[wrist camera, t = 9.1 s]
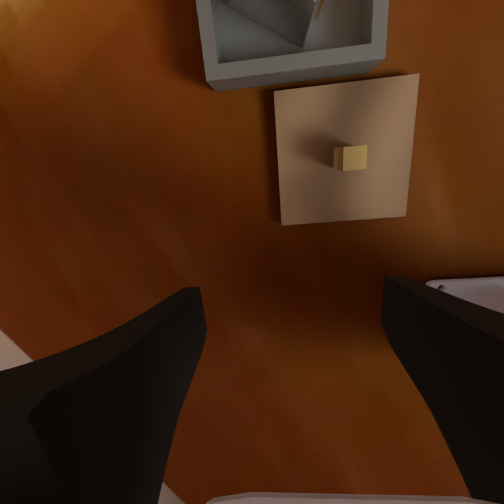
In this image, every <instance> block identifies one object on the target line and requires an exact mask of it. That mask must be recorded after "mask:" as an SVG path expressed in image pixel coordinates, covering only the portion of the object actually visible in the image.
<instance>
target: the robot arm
mask: <svg viewBox="0 0 504 504" xmlns="http://www.w3.org/2000/svg"><path fill="white" fill-rule="evenodd" d="M440 285H442V287H441V288H440V289H437V288H438V287H439V286H440ZM381 324H382V327H383V329H384V331H385V334H386V336H387V338H388V340H389V343H390V345H391V347H392V348H393V350H394V352H395V353H396V355H397V357H398V358H399V360H400V362H401V363H402V365H403V366H404V368H405V370H406V371H407V373H408V374H409V376H410V378H411V379H412V381H413V382H414V384H415V386H416V387H417V389H418V390H419V392H420V394H421V395H422V397H423V398H424V400H425V402H426V404H427V405H428V407H429V409H430V411H431V412H432V414H433V416H434V418H435V420H436V422H437V424H438V426H439V428H440V430H441V432H442V434H443V436H444V439H445V441H446V443H447V445H448V447H449V449H450V451H451V453H452V455H453V458H454V460H455V462H456V464H457V466H458V468H459V470H460V473H461V475H462V477H463V479H464V481H465V484H466V486H467V488H468V490H469V493H470V495H471V497H472V498H467V497H458V496H411V495H363V494H316V493H268V492H249V493H243V494H237V495H230V496H224V497H217V498H213V499H212V500H210V501H209V502H207V503H206V504H504V277H485V278H465V279H446V280H431V281H428V282H427V283H426V284H423V283H421V282H418V281H416V280H413V279H410V278H407V277H403V276H393V277H385V278H384V291H383V304H382V317H381ZM206 333H207V326H206V320H205V315H204V309H203V303H202V298H201V292H200V287H187V288H183V289H181V290H179V291H177V292H176V293H174V294H172V295H171V296H169V297H168V298H166V299H165V300H163V301H161V302H160V303H158V304H157V305H155V306H154V307H152V308H150V309H149V310H147V311H145V312H144V313H142V314H140V315H139V316H137V317H135V318H134V319H132V320H130V321H128V322H127V323H125V324H123V325H121V326H119V327H117V328H115V329H113V330H111V331H109V332H107V333H105V334H103V335H101V336H99V337H97V338H94V339H92V340H90V341H87V342H85V343H82V344H80V345H77V346H75V347H72V348H70V349H67V350H65V351H62V352H60V353H57V354H54V355H51V356H48V357H45V358H42V359H39V360H36V361H33V362H30V363H27V364H24V365H20V366H17V367H14V368H10V369H6V370H3V371H0V504H158V500H159V495H160V490H161V486H162V481H163V477H164V473H165V469H166V464H167V460H168V456H169V452H170V448H171V444H172V440H173V436H174V432H175V429H176V425H177V421H178V417H179V414H180V411H181V408H182V405H183V402H184V399H185V397H186V394H187V391H188V389H189V386H190V383H191V381H192V378H193V375H194V373H195V370H196V367H197V365H198V362H199V359H200V357H201V354H202V351H203V347H204V342H205V338H206Z"/></svg>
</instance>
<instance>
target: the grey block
mask: <svg viewBox="0 0 504 504" xmlns="http://www.w3.org/2000/svg"><path fill="white" fill-rule="evenodd" d="M325 1H326V0H228V2H229V5H230V8H231V9H232V10H234V11H236V12H238V13H240V14H242V15H243V16H245V17H247V18H249V19H251V20H252V21H254V22H256V23H258V24H260V25H261V26H263V27H265V28H267V29H269V30H271V31H272V32H274V33H276V34H278V35H280V36H281V37H283V38H285V39H287V40H289V41H290V42H292V43H294V44H296V45H298V46H300V47H301V48H303V46H304V44H305V42H306V39H307V37H308V35H309V33H310V30H311V28H312V26H313V24H314V22H315V19H316V20H317V19H318V17H319V15H320V12H321V10H322V8H323V6H324V4H325Z"/></svg>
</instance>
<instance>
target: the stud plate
mask: <svg viewBox="0 0 504 504" xmlns="http://www.w3.org/2000/svg"><path fill="white" fill-rule="evenodd" d="M418 84H419V74H411V75H403V76H395V77H387V78H378V79H370V80H362V81H354V82H345V83H337V84H329V85H321V86H313V87H304V88H296V89H288V90H280V91H274V106H275V123H276V140H277V157H278V174H279V191H280V208H281V223H282V225H294V224H308V223H322V222H335V221H349V220H362V219H376V218H389V217H403V216H406V209H407V198H408V188H409V177H410V167H411V157H412V146H413V136H414V125H415V115H416V105H417V94H418Z"/></svg>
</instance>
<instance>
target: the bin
mask: <svg viewBox="0 0 504 504" xmlns="http://www.w3.org/2000/svg"><path fill="white" fill-rule="evenodd" d="M196 6H197V13H198V21H199V29H200V36H201V44H202V52H203V59H204V67H205V75H206V82H207V83H208V84H209V85H210V86H211V87H212V88H213V89H214V90H215V91H216V92H217V91H225V90H233V89H241V88H249V87H257V86H265V85H273V84H281V83H289V82H298V81H306V80H314V79H322V78H330V77H338V76H346V75H354V74H362V73H368V72H370V71H371V70H372V69H373V68H374V67H376V66H377V65H378V64H379V63H381V62H382V61H383V60H384V59H385V58H386V41H387V24H388V7H389V0H326V1H325V4H324V6H323V8H322V10H321V12H320V15H319V17H318V19H317V20H316V19H315V22H314V24H313V26H312V28H311V30H310V33H309V35H308V37H307V39H306V42H305V44H304V46H303V48H301V47H300V46H298V45H296V44H294V43H292V42H290V41H289V40H287V39H285V38H283V37H281V36H280V35H278V34H276V33H274V32H272V31H271V30H269V29H267V28H265V27H263V26H261V25H260V24H258V23H256V22H254V21H252V20H251V19H249V18H247V17H245V16H243V15H242V14H240V13H238V12H236V11H234V10H232V9H231V8H230V5H229V2H228V0H196Z"/></svg>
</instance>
